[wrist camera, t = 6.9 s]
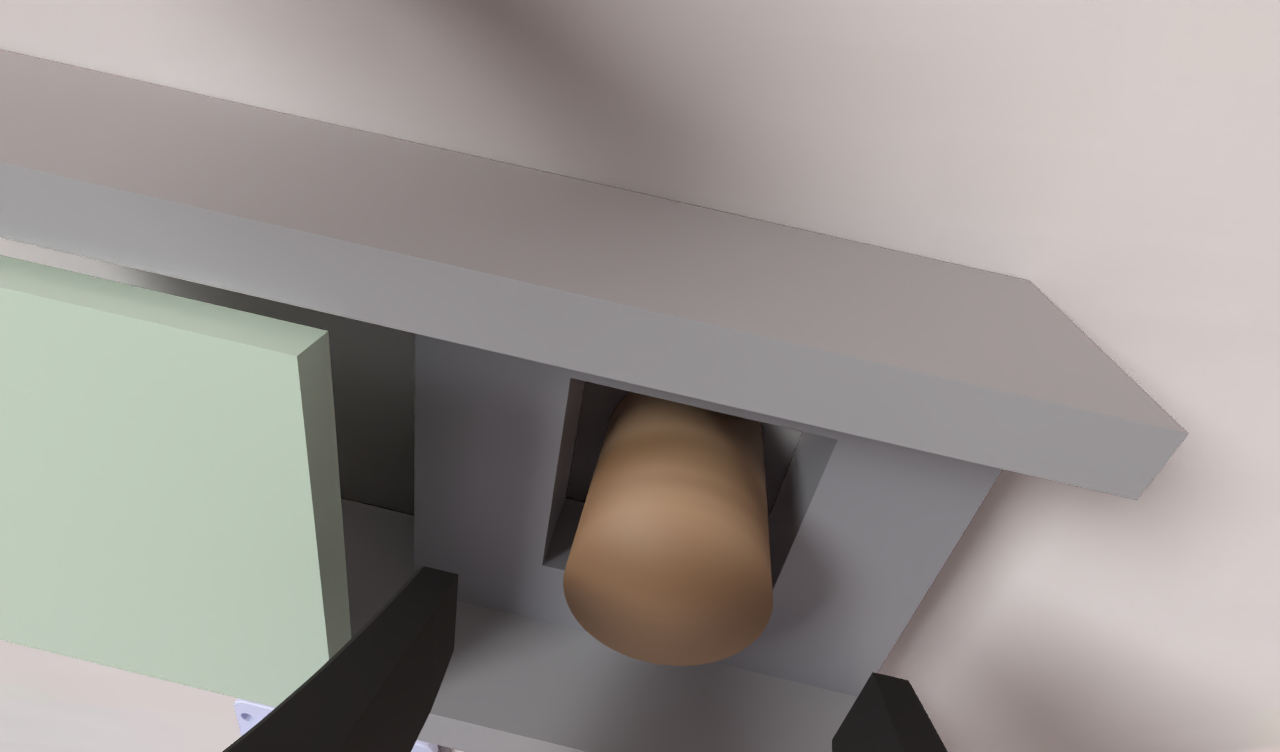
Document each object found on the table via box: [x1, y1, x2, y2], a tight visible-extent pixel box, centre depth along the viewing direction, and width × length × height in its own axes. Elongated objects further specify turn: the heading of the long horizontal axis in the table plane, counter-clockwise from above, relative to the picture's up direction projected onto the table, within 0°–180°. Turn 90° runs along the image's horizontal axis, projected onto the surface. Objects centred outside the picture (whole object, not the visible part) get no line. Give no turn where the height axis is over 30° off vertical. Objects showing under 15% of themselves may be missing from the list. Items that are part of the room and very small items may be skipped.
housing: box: [0, 50, 1189, 752], centre depth 14 cm, size 12×24×6 cm, turn 80°
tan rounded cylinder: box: [563, 392, 773, 666], centre depth 14 cm, size 4×4×5 cm
